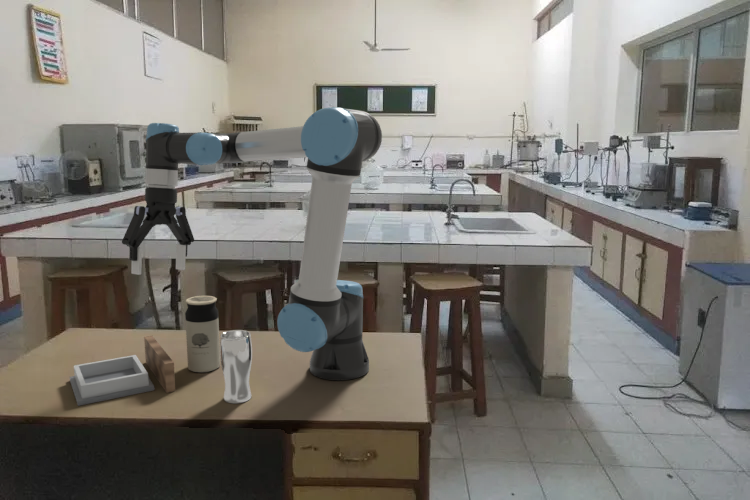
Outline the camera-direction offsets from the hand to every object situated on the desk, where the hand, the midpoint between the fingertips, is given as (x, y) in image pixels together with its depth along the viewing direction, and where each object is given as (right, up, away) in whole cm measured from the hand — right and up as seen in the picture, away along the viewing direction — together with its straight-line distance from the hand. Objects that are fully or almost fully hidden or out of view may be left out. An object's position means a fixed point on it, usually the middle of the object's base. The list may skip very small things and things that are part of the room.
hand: (159, 271), depth 148 cm
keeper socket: (-8, -26, -9) cm, 29 cm away
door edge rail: (+1, -26, -3) cm, 26 cm away
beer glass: (+23, -28, -15) cm, 39 cm away
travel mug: (+10, -25, +3) cm, 27 cm away
